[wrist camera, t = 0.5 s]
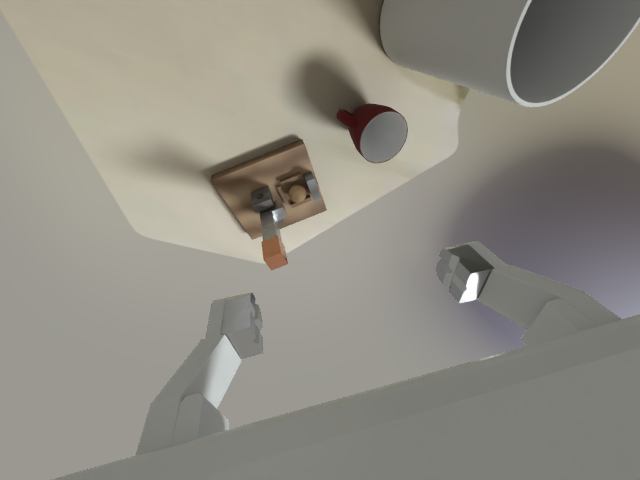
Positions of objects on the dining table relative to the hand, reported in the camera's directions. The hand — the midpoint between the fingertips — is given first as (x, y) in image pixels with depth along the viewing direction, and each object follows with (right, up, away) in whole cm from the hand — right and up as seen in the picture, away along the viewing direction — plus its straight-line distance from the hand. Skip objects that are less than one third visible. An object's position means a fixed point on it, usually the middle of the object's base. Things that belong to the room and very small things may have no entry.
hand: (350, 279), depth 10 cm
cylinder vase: (+13, +36, +27) cm, 47 cm away
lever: (-12, +8, +37) cm, 39 cm away
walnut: (-6, +12, +39) cm, 41 cm away
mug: (+5, +24, +35) cm, 43 cm away
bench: (-11, +12, +41) cm, 43 cm away
